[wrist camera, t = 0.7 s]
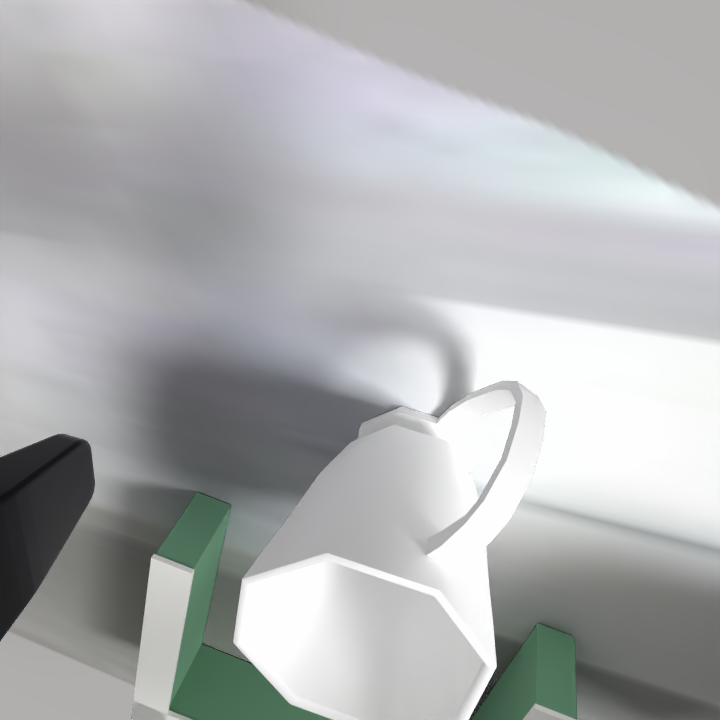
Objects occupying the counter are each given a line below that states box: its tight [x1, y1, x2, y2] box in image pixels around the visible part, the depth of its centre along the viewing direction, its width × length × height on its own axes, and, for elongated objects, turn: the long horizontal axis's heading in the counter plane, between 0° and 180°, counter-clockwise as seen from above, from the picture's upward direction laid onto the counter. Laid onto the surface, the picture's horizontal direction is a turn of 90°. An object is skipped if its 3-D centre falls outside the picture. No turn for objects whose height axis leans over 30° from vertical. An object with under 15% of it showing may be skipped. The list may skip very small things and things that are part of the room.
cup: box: [233, 381, 546, 720], centre depth 19 cm, size 7×10×8 cm
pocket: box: [131, 492, 577, 720], centre depth 28 cm, size 16×12×4 cm
